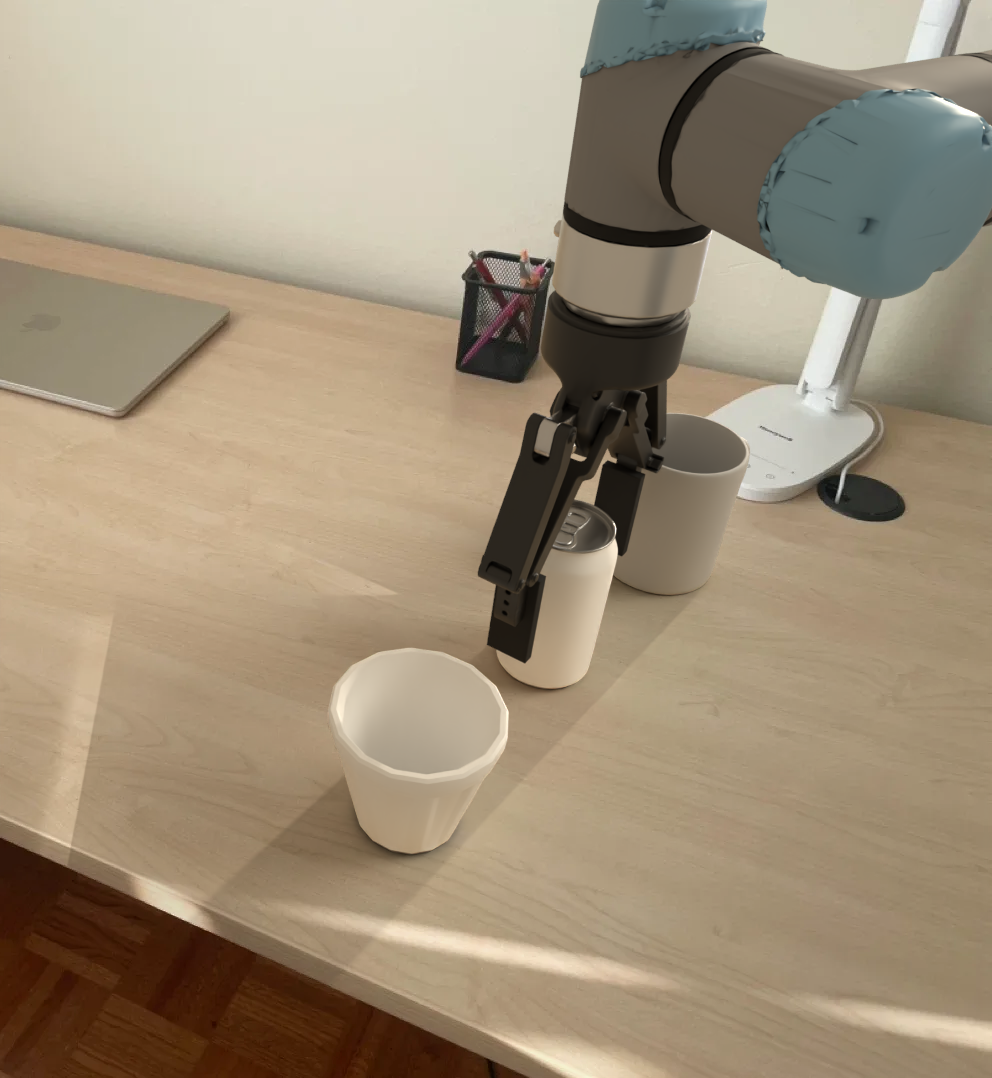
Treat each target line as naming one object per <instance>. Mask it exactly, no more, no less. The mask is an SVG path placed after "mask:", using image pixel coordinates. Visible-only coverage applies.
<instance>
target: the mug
mask: <svg viewBox="0 0 992 1078" xmlns="http://www.w3.org/2000/svg"><path fill="white" fill-rule="evenodd" d="M652 451H653V453H654V454H657V455H660V456H662V457H664V462H663V465H662V467H661V469H660V471H659V472H658V473H657V474H656V473H653V472H651V471H648V470H645V469H642V471H641V473H644V474H646V475H645V479H644V483H643V487H642V491H641V495H640V499H639V503H638V507H637V512H636V516H635V520H634V524H633V528H632V532H631V536H630V540H629V544H628V549H627V552H626V553H625V554H624V555H623V556H619V555H617V560H616V565H615V569H614V573H613V577H615V578H616V579H617V580H618V581H620V582H621V583H623V584H625V585H627V586H629V587H632V588H634V589H637V590H639V591H641V592H645V593H650V594H656V595H661V596H662V595H664V596H674V595H675V596H676V595H683V594H689V593H691V592H694V591H696V590H698V589H699V588H701V587H703V586H704V585H706V583H707V582H708V581H709V579H710V578H711V576H712V574H713V572H714V569H715V566H716V563H717V558H718V556H719V553H720V549H721V546H722V542H723V540H724V538H725V537H724V536H725V533H726V531H727V528H728V524H729V521H730V519H731V515H732V512H733V510H734V507H735V503H736V500H737V497H738V494H739V491H740V488H741V485H742V483H743V481H744V477H745V475H746V472H747V469H748V466H749V461H750V456H751V446H750V444H749V442H748V440H747V439H746V438H744V437H743V436H741V435H739V434H738V433H737V432H736V431H734V430H733V429H731V428H729V427H728V426H726V425H725V424H722V423H720V422H718V421H716V420H713V419H711V418H708V417H704V416H700V415H697V414H696V415H695V414H691V413H682V412H667V425H666V442H665V444H664V445H663V446H662V447H661V449H660V450H658V449H655V448H652Z"/></svg>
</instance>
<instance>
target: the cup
mask: <svg viewBox="0 0 992 1078" xmlns="http://www.w3.org/2000/svg"><path fill="white" fill-rule="evenodd" d="M328 703H329V704H328V708H327V725H328V729H329V732H330V735H331V738H332V741H333V744H334V748H335V749H336V752H337V753H338V758H339V760H340V764H341V767H342V771H343V775H344V777H345V781H346V785H347V788H348V792H349V795H350V798H351V801H352V805H353V808H354V811H355V815H356V817H357V818H356V819H357V822H358V824H359V826H360V827H361V829H362V830H363V832H364V833H365V834H366V835H367V836H368V837H369V839H371V840H372V842H373V843H375V844H377V845H379V846H380V847H383V848H384V849H386V850H388V851H390V852H393V853H398V854H405V855H410V856H413V855H417V854H418V855H419V854H423V853H429V852H432V851H433V850H435V849H437V848H438V847H440V846H442V845H444V844H445V843H447V842H448V841H449V840H450V838H451V837H452V835H453V834H454V832H455V830H456V829H457V827H458V825H459V823H460V822H461V820H462V819H463V816H464V815H465V813H466V811H467V809H468V808H469V806H470V805H471V802H473V800H474V797H475V796H476V794H477V792H478V791H479V789H480V787H481V785H482V783H483V782H484V780H485V779H486V777H487V776H489V775H490V774H491V771H493V769H494V767H495V766H496V764H497V762H498V761H499V759H500V758H501V756H502V754H503V753H504V751H505V750H506V747H507V743H508V738H509V737H508V736H509V715H510V714H509V713H510V712H509V710H508V708H507V707H508V706H507V704H505V701H504V698H503V697H502V695H501V693H500V690H499V689H498V686H497V685H496V684H494V683H493V682H492V681H491V680H490V679H489V678H488V677H487V676H485V674H483V673H482V672H481V671H480V670H479V669H477V667H475V666H474V665H473V664H471V663H468V662H466V661H464V660H462V659H459V658H457V657H455V656H453V655H450V654H448V653H446V652H444V651H437V650H431V649H424V648H417V647H416V648H415V647H404V648H396V649H390V650H389V649H388V650H383V651H378V652H376V653H373V654H371V655H370V656H368V657H365V658H364V659H361V660H359V661H357V662H355V663H353V664H351V665H350V666H349V667H348V668H347V670H346V671H344V673H343V674H342V675H341V676H340V677H339V678H338V680H337V681H336V682H335V683H334V684H333V686H332V690H331V695H330V699H329V702H328Z"/></svg>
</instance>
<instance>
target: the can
mask: <svg viewBox="0 0 992 1078" xmlns="http://www.w3.org/2000/svg"><path fill="white" fill-rule="evenodd" d="M615 536H616V526H615V524H614V522H613V520H612V519H611V517H610V516H609V515H608V514H607V513H606V512H604V511H603V510H601V509H600V508H598V507H596V506H594V504H592V503H590V502H586V501H583V500H580V499H576V498H575V499H574V501H573V503H572V505H571V508H570V510H569V512H568V514H567V516H566V518H565V520H564V523H563V525H562V527H561V529H560V531H559V533H558V536H557V538H556V540H555V542H554V544H553V546H552V548H551V551H550V553H549V555H548V557H547V559H546V561H545V564H544V566H543V568H542V570H541V572H540V574H542V575H545V576H546V580H545V585H544V590H543V596H542V601H541V606H540V612H539V617H538V622H537V628H536V633H535V638H534V644H533V649H532V654H531V658H530V659H529V660H528V661H527V662H526V663H523V662H521V661H518V660H516V659H514V658H512V657H510V656H508V655H506V654H504V653H502V652H500V651H498V650H496V649H495V650H496V651H495V652H496V656H497V660H498V662H499V663H500V665H501V667H503V669H504V670H505V671H506V672H507V673H508V674H509V675H510V676H511V677H512V678H513V679H515V680H516V681H518V682H520V683H522V684H524V685H527V686H530V687H533V688H537V689H543V690H558V689H563V688H567V687H569V686H572V685H574V684H576V683H578V682H579V681H581V680H582V679H583V678H584V677H585V676H586V675H587V673H588V671H589V668H590V665H591V662H592V659H593V654H594V651H595V648H596V644H597V643H596V642H597V639H598V636H599V631H600V628H601V624H602V620H603V616H604V612H605V609H606V605H607V600H608V596H609V592H610V589H611V585H612V581H613V577H614V575H613V573H614V569H615V565H616V560H617V554H618V547H617V543H616V540H615Z"/></svg>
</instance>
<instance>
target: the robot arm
mask: <svg viewBox="0 0 992 1078" xmlns="http://www.w3.org/2000/svg"><path fill="white" fill-rule="evenodd" d="M767 8H768V0H599V1H598V3H597V6H596V10H595V15H594V19H593V24H592V29H591V32H590V37H589V42H588V46H587V51H586V55H585V60H584V64H583V67H581V69H580V71H579V78H580V79H581V82H580V89H579V96H578V103H577V110H576V116H575V117H576V118H575V125H574V129H573V130H574V131H573V137H572V145H571V150H570V158H569V163H568V171H567V179H566V185H565V190H564V191H565V193H564V199H563V200H564V201H563V209H562V214H561V219H559V220H558V221H557V222H556V224H555V225H554V226H553V234H554V237H557V238H558V241H557V247H556V253H555V258H554V259H555V260H554V266H553V273H552V279H551V285H552V287H553V288H554V290H553V291H552V292H551V293H550V295H549V297H548V299H547V305H546V310H545V318H544V324H543V329H542V338H541V343H540V352H541V356H542V358H543V360H544V362H545V364H546V365H547V366H548V367H549V369H551V370H552V371H553V372H554V374H556V376H557V377H558V379H559V381H560V383H561V388H560V389H559V390H558V392H557V393H556V395H555V397H554V399H553V401H552V403H551V405H550V409H549V415H550V416H546V415H543V414H541V413H538V412H532V413H531V414H530V415H529V417H528V419H527V421H526V423H525V428H524V432H523V437H522V442H521V447H520V451H519V455H518V459H517V460H516V463H515V466H514V469H513V472H512V474H511V477H510V481H509V482H508V485H507V488H506V491H505V494H504V497H503V500H502V503H501V505H500V507H499V511H498V514H497V516H496V519H495V522H494V525H493V527H492V531H491V533H490V536H489V538H488V541H487V545H486V547H485V549H484V553H483V554H482V557H481V559H480V563H479V566H478V570H477V577H478V578H480V579H482V580H484V581H487V582H489V583H490V584H493V585H495V587H494V592H493V593H494V594H493V600H492V607H491V613H490V621H489V627H488V634H487V641H486V646H489V647H490V648H492V649H494V650H498V651H500V652H502V653H504V654H506V655H508V656H510V657H512V658H514V659H516V660H518V661H521V662H523V663H526V662H527V661H528V660H529V659H530V658H531V654H532V649H533V644H534V638H535V633H536V628H537V622H538V617H539V612H540V606H541V601H542V596H543V590H544V585H545V580H546V576H545V575H542V574H540V572H541V570H542V568H543V566H544V564H545V561H546V559H547V557H548V555H549V553H550V551H551V548H552V546H553V544H554V542H555V540H556V538H557V536H558V533H559V531H560V529H561V527H562V525H563V523H564V520H565V518H566V516H567V514H568V512H569V510H570V508H571V505H572V503H573V501H574V499H576V497H577V495H578V492H579V490H580V489H581V486H582V484H583V483H584V482H585V481H591V479H593V478H594V477H595V476H596V475H597V472H598V470H599V468H600V465H601V463H602V461H603V459H604V457H605V455H606V454H607V453H606V452H607V451H608V453H609V456H610V458H613V459H616V462H614V461H612V460H608V459H607V460H606V461H605V462H604V463H603V464H602V465H601V471H600V473H599V474H600V475H599V480H598V485H597V489H596V494H595V498H594V502H593V503H594V504H593V505H594V506H596V507H598V508H600V509H601V510H603V511H604V512H606V513H607V514H608V515H609V516H610V517H611V519H612V520H613V522H614V524H615V526H616V536H615V540H616V543H617V547H618V554H617V555H619V556H623V555H624V554H625V553H626V552H627V549H628V544H629V540H630V536H631V532H632V528H633V524H634V520H635V516H636V512H637V507H638V503H639V499H640V495H641V491H642V487H643V483H644V479H645V475H646V474H644V473H641V471H642V469H645V470H648V471H651V472H653V473H656V474H657V473H658V472H659V471H660V469H661V467H662V465H663V462H664V457H662V456H660V455H657V454H654V453H653V451H652V448H655V449H658V450H660V449H661V447H662V446H663V445H664V444H665V442H666V425H667V413H668V411H667V408H668V398H667V397H668V380H669V379H670V378H671V377H673V376H674V374H675V373H676V372H677V370H678V368H679V366H680V362H681V358H682V354H683V349H684V345H685V341H686V338H687V334H688V329H689V325H690V321H691V318H692V316H691V315H692V314H691V310H690V307H691V306H692V305H693V304H694V303H695V302H696V300H697V298H698V293H699V289H700V285H701V281H702V276H703V272H704V268H705V263H706V259H707V255H708V251H709V248H710V242H711V238H712V234H713V231H714V232H716V233H718V234H719V235H722V236H724V237H725V238H728V239H729V240H731V241H733V242H735V243H737V244H739V245H741V246H742V247H745V248H747V249H749V250H751V251H753V252H755V253H757V254H759V255H760V256H762V257H764V258H765V259H766V258H767V259H768V260H770V261H772V262H774V263H776V264H778V265H779V266H780V267H781V268H782V269H784V270H786V271H789V272H790V273H791V274H792V275H793V276H796V278H797V277H798V278H805V279H806V280H808V281H810V282H811V283H815V284H821V285H827V286H829V287H831V288H834V289H837V290H840V291H842V292H846V293H848V294H851V295H853V296H856V297H858V298H863V299H867V300H868V299H869V300H889V299H890V300H891V299H894V298H898V297H902V296H905V295H908V294H910V293H912V292H915V291H917V290H919V289H920V288H922V287H923V286H924V285H926V283H927V281H928V280H929V279H930V277H931V276H932V275H933V273H936V272H937V273H938V272H944V271H946V270H947V269H948V268H950V267H951V266H952V265H953V264H954V263H955V262H956V261H957V260H959V258H960V257H961V256H962V255H963V254H964V253H965V251H966V250H967V249H968V248H969V246H970V245H971V244H972V242H973V241H974V240H975V238H976V237H977V235H979V232H980V231H981V230H982V228H985V227H989V226H992V49H990V50H984V51H979V52H968V53H967V52H965V53H959V54H953V55H946V56H939V57H935V58H934V57H933V58H927V59H920V60H915V61H913V60H912V61H907V62H902V63H896V64H889V65H882V66H875V67H870V68H869V67H868V68H863V69H840V68H834V67H829V66H825V65H821V64H817V63H812V62H809V61H805V60H801V59H797V58H792V57H789V56H785V55H784V54H782V53H778V52H776V51H773V50H771V49H769V48H766V47H764V46H761V45H760V44H761V43H762V42H763V41H764V38H765V36H766V34H767V32H766V31H765V28H764V23H765V18H766V12H767ZM573 454H574V455H577V456H580V457H582V458H585V459H584V460H577V459H574V458H573V457H572V455H573Z"/></svg>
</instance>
